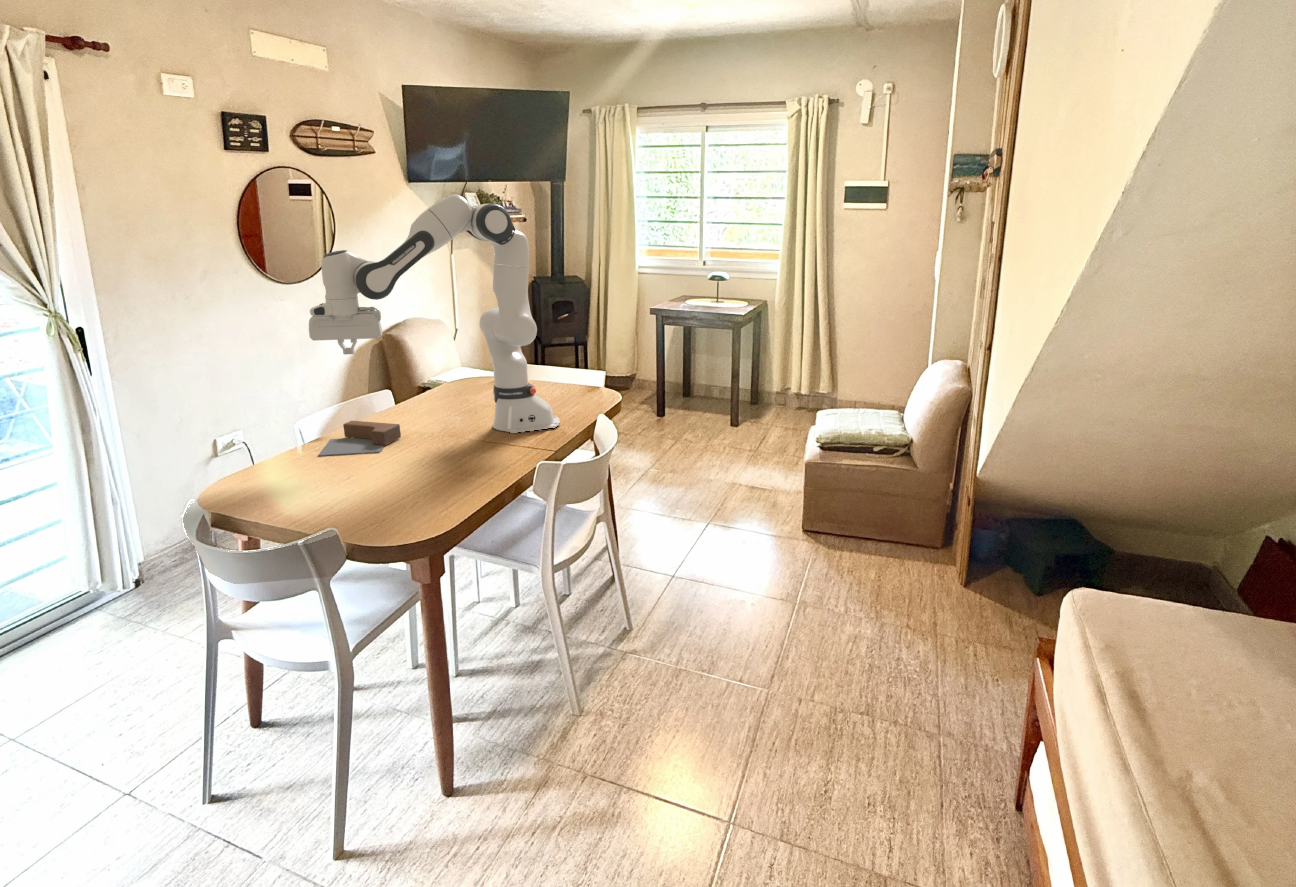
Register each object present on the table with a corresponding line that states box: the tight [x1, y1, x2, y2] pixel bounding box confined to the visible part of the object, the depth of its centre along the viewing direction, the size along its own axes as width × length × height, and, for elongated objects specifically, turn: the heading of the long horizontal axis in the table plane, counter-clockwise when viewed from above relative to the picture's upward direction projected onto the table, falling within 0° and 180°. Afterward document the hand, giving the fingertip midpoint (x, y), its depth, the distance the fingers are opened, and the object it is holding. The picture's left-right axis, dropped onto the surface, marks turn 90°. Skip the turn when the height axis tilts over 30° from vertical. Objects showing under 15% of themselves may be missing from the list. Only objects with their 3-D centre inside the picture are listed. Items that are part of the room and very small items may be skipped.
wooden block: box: [342, 420, 402, 446], centre depth 236 cm, size 9×4×18 cm
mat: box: [317, 437, 385, 457], centre depth 231 cm, size 18×16×1 cm
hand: (349, 354), depth 222 cm, fingers closed
